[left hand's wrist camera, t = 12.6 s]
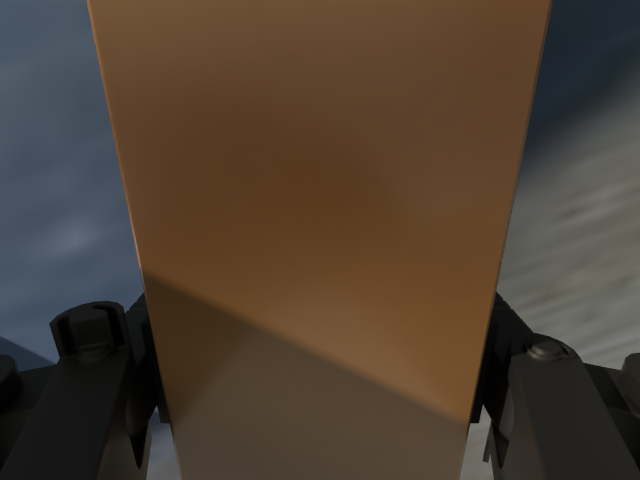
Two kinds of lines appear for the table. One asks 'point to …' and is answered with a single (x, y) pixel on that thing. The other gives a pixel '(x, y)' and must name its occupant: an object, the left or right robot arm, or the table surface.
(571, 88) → the table surface
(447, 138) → the bar
